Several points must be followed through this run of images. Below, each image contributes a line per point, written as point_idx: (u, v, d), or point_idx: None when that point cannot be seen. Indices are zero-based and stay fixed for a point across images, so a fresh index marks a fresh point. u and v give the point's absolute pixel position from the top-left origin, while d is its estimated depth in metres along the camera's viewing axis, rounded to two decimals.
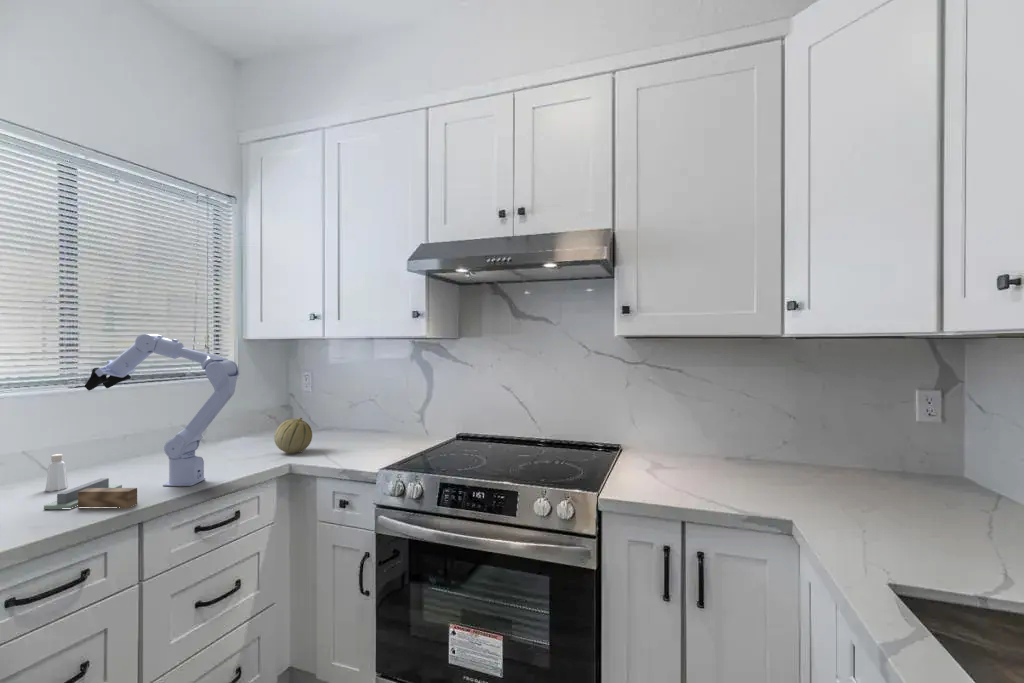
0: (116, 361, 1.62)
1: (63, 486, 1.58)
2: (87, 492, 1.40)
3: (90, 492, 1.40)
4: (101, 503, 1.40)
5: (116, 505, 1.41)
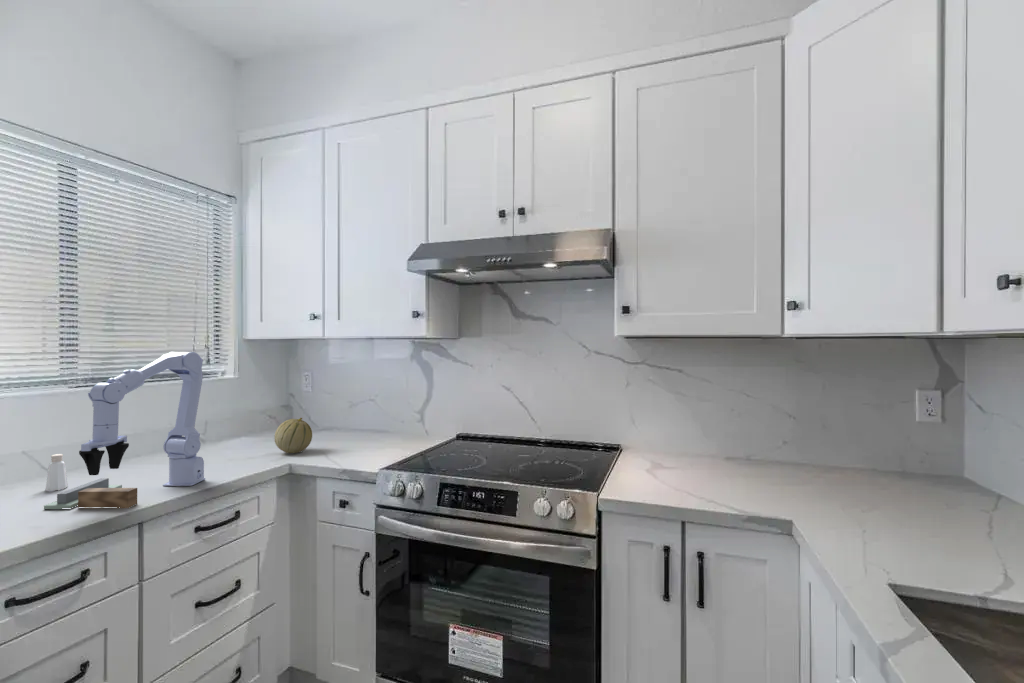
0: (94, 431, 1.40)
1: (63, 486, 1.58)
2: (87, 492, 1.40)
3: (90, 492, 1.40)
4: (101, 503, 1.40)
5: (116, 505, 1.41)
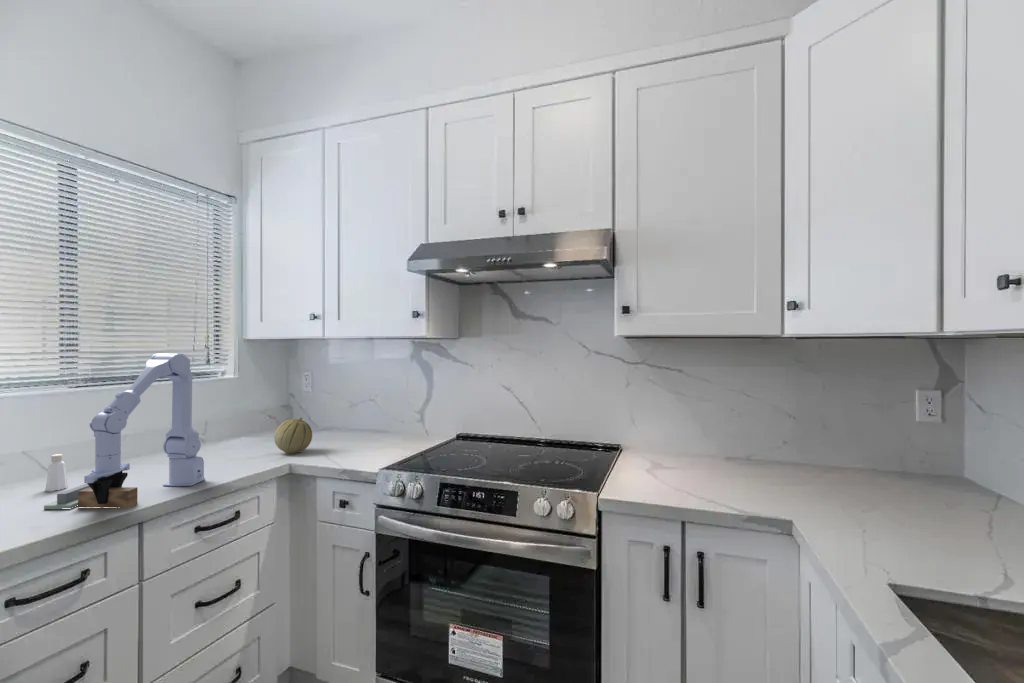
0: (96, 462, 1.40)
1: (63, 486, 1.58)
2: (87, 492, 1.40)
3: (90, 492, 1.40)
4: None
5: (116, 505, 1.41)
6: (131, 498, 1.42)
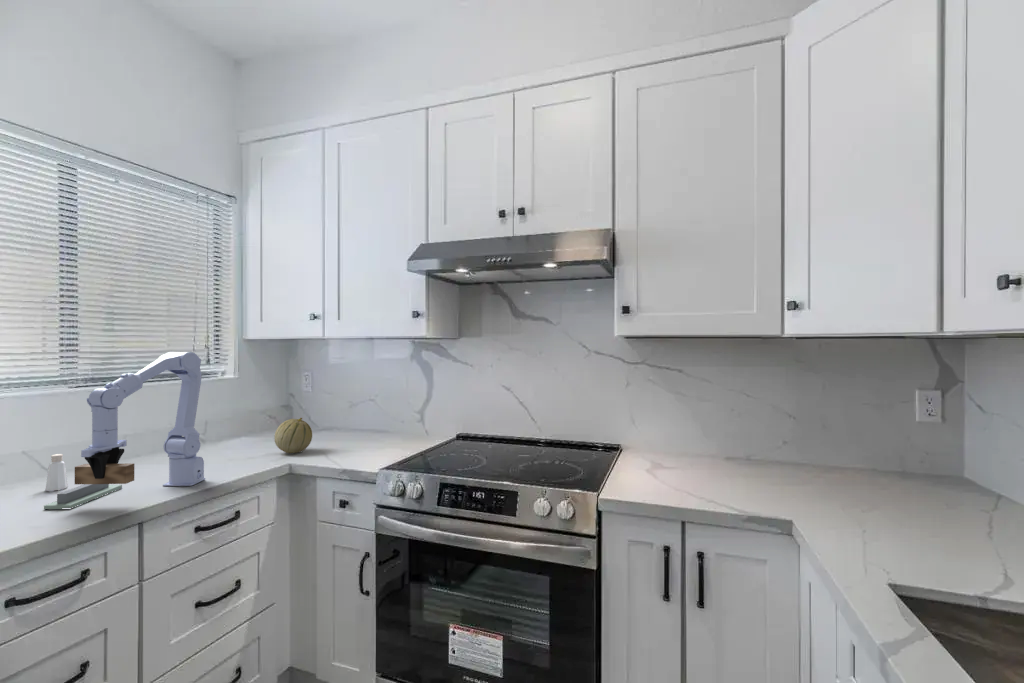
0: (93, 437, 1.40)
1: (63, 486, 1.58)
2: (84, 467, 1.41)
3: (87, 467, 1.41)
4: None
5: (113, 480, 1.41)
6: (128, 474, 1.43)
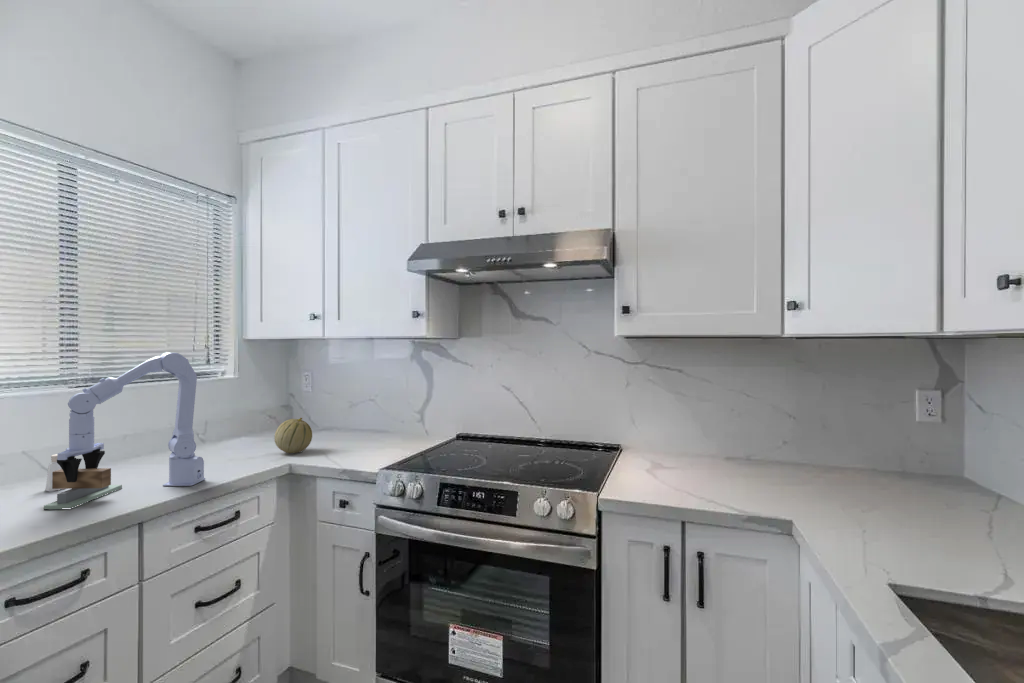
0: (70, 440, 1.45)
1: None
2: (61, 472, 1.46)
3: None
4: (75, 483, 1.46)
5: (90, 484, 1.46)
6: (104, 478, 1.47)
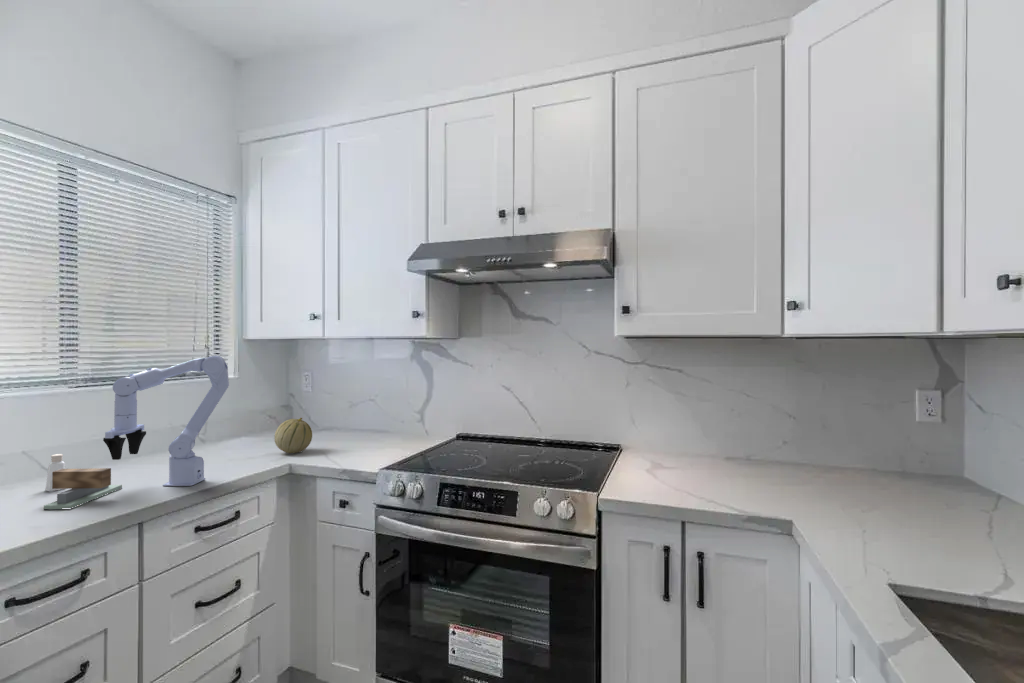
0: (115, 421, 1.56)
1: None
2: (61, 472, 1.46)
3: (64, 472, 1.46)
4: (75, 483, 1.46)
5: (90, 484, 1.46)
6: (104, 478, 1.47)
